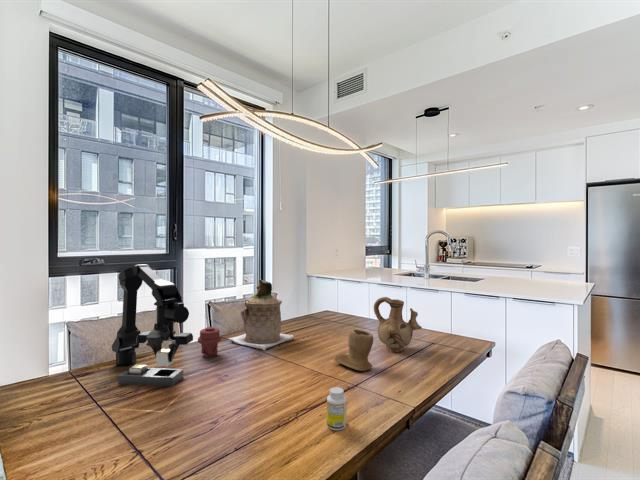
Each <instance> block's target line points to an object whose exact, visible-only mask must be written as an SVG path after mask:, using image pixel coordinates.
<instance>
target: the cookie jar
mask: <svg viewBox="0 0 640 480" xmlns="http://www.w3.org/2000/svg"><path fill="white" fill-rule="evenodd" d="M256 289H257V292H256V293H254V294H253V295H252V296H251V297H250V298H246V299H245V301H244V305H245V307H246V308H245V307H244V308H243V310H241V311H240V316H241V319H242V320H243V326H242V329H243V331H244V334H240V335H238V336H234V337H229V338H228V340H230V341H232V342H233V343H234V344H236V345H237V344H238V345H242V346H246V347H250V348H251V347H252V348H256V349H259V350H263V351H266V349H268V348H272V347H274V346H277V345H279V344H282V343H284V342H285V343H286V342H289V341H291V340H293V338H294V337H295V336H294V335H293V334H286V333H281V331H282V317H281V314H282V313H281V304H282V302H283V301H282V299H278V298H276V297H274V296H272V292H273V285H272V282H269V281H267V280H264V279H263V280H262V279H259V280H258V283H257V284H256Z"/></svg>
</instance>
